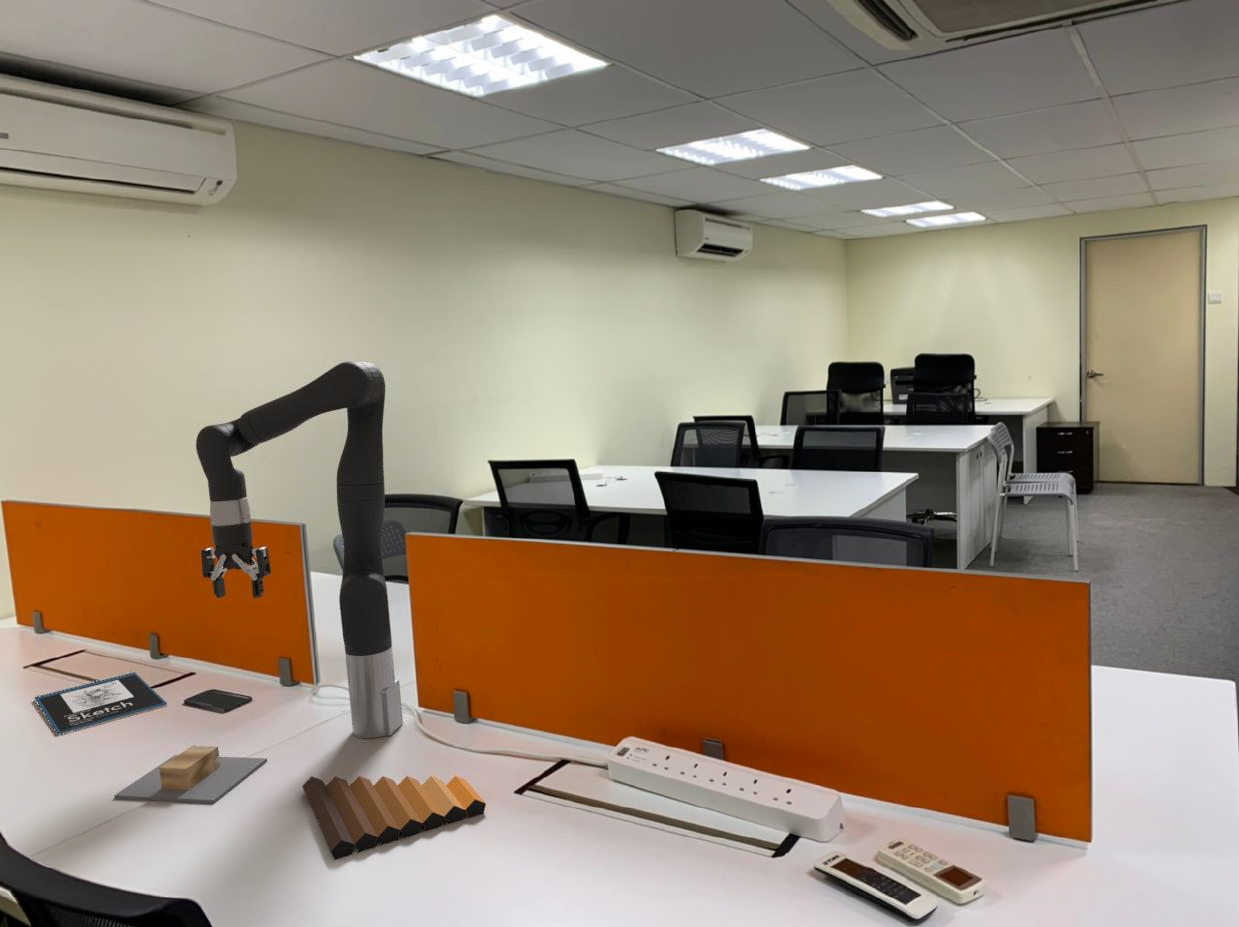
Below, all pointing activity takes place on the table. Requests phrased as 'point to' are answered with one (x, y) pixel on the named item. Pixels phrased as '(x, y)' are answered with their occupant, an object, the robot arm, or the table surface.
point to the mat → (203, 792)
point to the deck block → (189, 767)
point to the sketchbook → (98, 702)
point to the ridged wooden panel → (386, 809)
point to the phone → (218, 700)
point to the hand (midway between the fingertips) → (239, 596)
